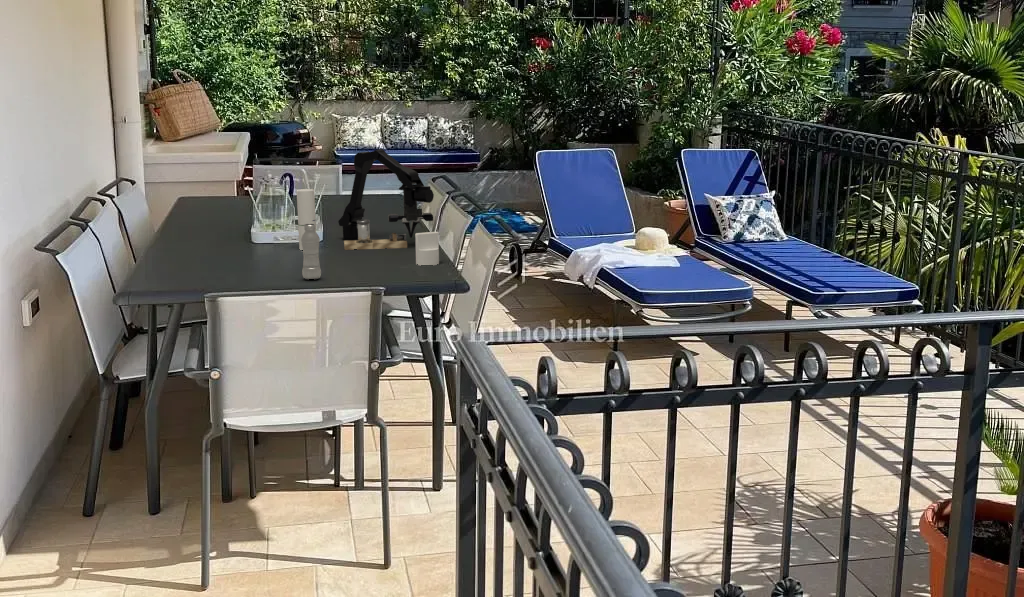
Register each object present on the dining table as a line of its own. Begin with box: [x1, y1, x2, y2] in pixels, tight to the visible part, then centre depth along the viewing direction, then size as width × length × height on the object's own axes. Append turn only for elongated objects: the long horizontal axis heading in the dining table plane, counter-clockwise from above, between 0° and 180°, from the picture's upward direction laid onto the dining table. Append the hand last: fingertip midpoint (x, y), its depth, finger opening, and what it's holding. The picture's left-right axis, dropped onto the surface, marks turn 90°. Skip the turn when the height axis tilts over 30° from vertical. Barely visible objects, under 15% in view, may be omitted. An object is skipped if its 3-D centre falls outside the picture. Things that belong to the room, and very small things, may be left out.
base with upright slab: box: [414, 231, 440, 266], centre depth 392 cm, size 9×9×12 cm
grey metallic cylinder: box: [357, 219, 371, 243], centre depth 426 cm, size 5×5×12 cm
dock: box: [343, 232, 408, 251], centre depth 428 cm, size 26×8×6 cm, turn 101°
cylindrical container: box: [296, 188, 317, 251], centre depth 419 cm, size 7×7×25 cm
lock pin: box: [388, 233, 407, 241], centre depth 429 cm, size 7×2×2 cm, turn 101°
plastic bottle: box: [301, 224, 322, 280], centre depth 363 cm, size 6×7×20 cm
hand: (410, 237), depth 430 cm, fingers closed
